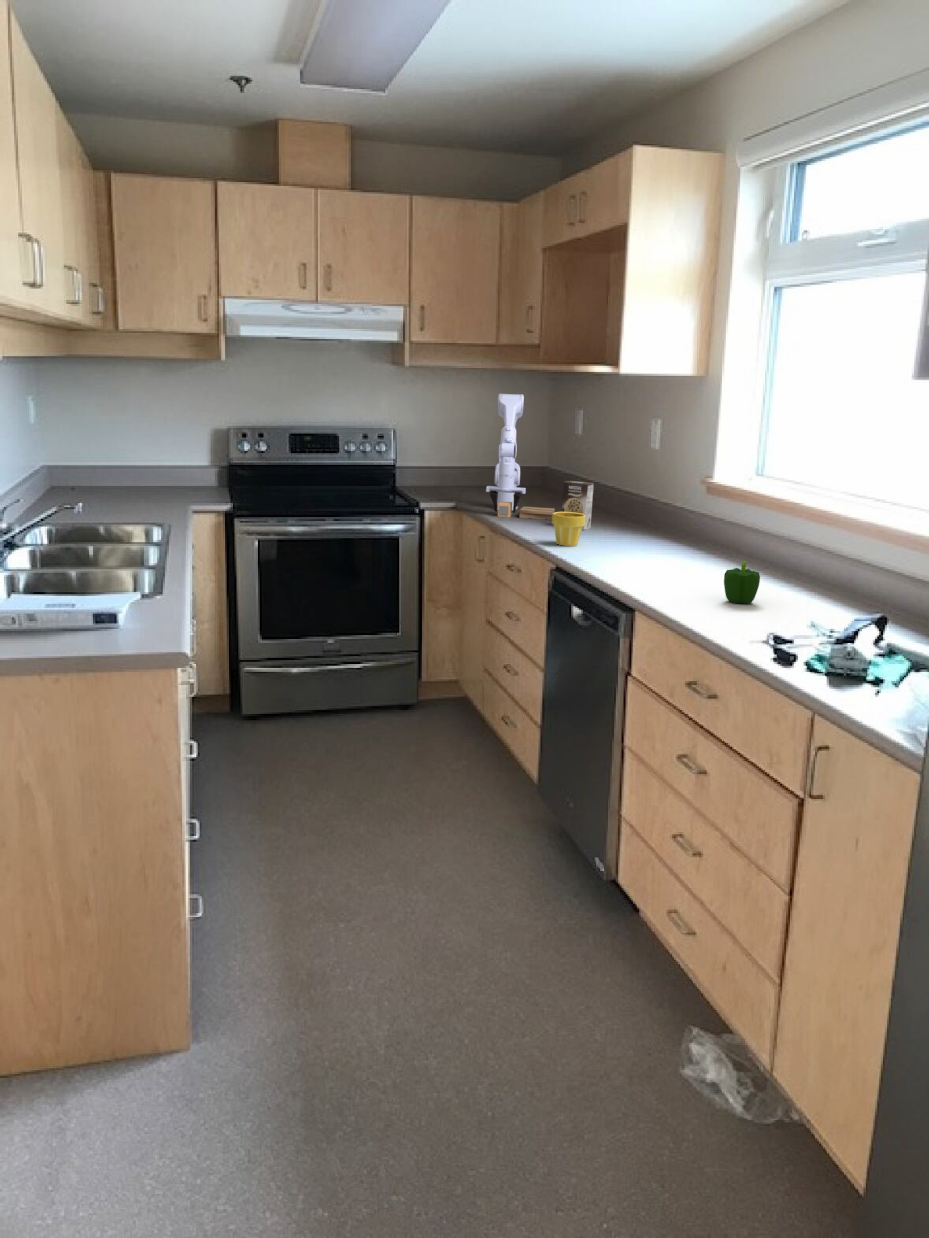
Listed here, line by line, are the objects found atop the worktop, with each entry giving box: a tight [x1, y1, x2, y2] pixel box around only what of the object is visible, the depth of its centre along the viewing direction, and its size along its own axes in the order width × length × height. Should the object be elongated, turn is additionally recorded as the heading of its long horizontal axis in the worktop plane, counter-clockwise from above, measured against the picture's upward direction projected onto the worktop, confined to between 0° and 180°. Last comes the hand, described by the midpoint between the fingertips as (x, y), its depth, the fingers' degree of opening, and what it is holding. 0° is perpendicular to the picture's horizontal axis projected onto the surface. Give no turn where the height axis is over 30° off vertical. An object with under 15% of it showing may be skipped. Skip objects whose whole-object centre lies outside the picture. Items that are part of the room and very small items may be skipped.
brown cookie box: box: [561, 480, 595, 531], centre depth 349 cm, size 9×6×16 cm
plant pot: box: [551, 511, 585, 547], centre depth 316 cm, size 10×10×10 cm
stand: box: [519, 506, 556, 521], centre depth 373 cm, size 10×12×3 cm
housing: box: [497, 502, 513, 518], centre depth 374 cm, size 6×4×5 cm
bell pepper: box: [723, 560, 761, 605], centre depth 244 cm, size 8×8×10 cm
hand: (504, 511), depth 374 cm, fingers open, 6 cm apart
